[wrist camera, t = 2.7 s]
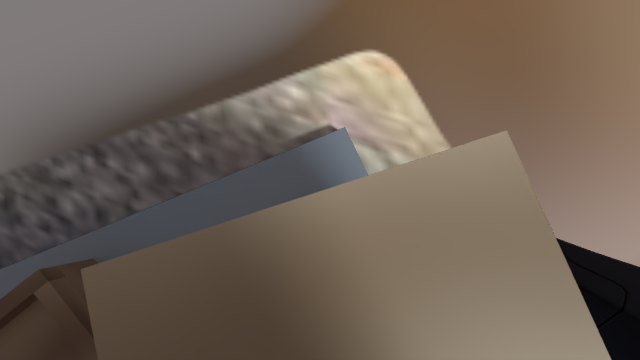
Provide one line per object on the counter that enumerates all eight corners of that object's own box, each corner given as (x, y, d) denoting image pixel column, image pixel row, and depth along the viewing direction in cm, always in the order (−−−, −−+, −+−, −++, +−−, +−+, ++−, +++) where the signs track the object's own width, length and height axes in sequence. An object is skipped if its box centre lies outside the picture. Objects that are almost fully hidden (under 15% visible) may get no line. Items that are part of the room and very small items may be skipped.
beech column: (369, 279, 14) (716, 590, 2) (289, 310, 14) (212, 951, 2) (341, 200, 15) (506, 130, 3) (264, 226, 14) (81, 268, 2)
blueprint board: (450, 356, 15) (462, 367, 14) (41, 604, 11) (14, 645, 10) (342, 132, 17) (345, 126, 15) (-39, 290, 13) (-70, 297, 12)
